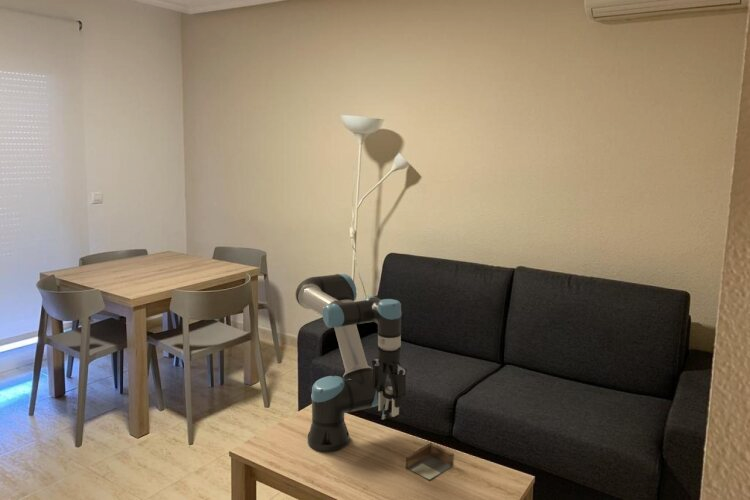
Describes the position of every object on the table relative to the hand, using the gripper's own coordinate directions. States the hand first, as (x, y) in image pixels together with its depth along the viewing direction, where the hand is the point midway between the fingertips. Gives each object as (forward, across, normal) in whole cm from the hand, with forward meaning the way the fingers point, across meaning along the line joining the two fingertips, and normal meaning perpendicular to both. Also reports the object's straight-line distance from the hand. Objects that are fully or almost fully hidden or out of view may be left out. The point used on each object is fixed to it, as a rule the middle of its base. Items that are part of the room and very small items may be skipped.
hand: (388, 412), depth 200 cm
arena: (+19, +12, +8) cm, 24 cm away
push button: (+2, -1, 0) cm, 2 cm away
